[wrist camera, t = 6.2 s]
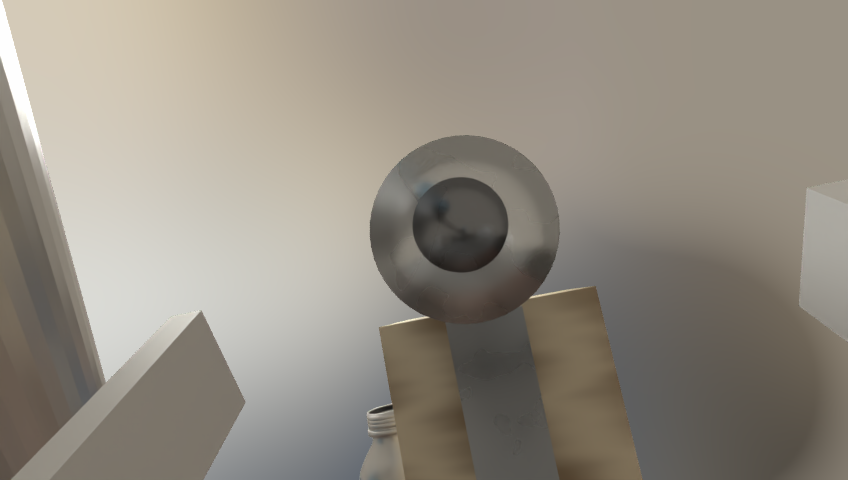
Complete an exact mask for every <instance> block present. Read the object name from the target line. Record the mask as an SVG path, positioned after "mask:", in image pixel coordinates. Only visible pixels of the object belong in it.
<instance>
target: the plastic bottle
mask: <svg viewBox="0 0 848 480" xmlns="http://www.w3.org/2000/svg"><path fill="white" fill-rule="evenodd" d="M367 419H368V427H369V429H368V435H369V437H372V438H373V443H372V445H371V447H370V450H369V452H368V454H367V456H366V458H365V461H364V463H363V466H362V469H361V472H360V480H405V475H404V470H403V464H402V458H401V452H400V447H399V441H398V435H397V429H396V423H395V418H394V412H393V406H392V404H389V405H384V406H381V407H377V408H375V409H372V410H370V411H368V412H367Z"/></svg>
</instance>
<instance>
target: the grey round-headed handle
mask: <svg viewBox="0 0 848 480" xmlns="http://www.w3.org/2000/svg"><path fill="white" fill-rule="evenodd" d="M559 235H560V229H559V216H558V209H557V206H556V202H555V199H554V196H553V193H552V191H551V189H550V187H549V185H548V183H547V181H546V180H545V178H544V177H543V175H542V174H541V173H540V171H539V170H538V169H537V168H536V166H535V165H534V164H533V163H532V162H531V161H529V160H528V159H527V158H526V157H525V156H524V155H522V154H521V153H520V152H518V151H517V150H515V149H514V148H512V147H509V146H508V145H506V144H504V143H501V142H498V141H496V140H493V139H489V138H485V137H480V136H469V135H465V136H452V137H446V138H441V139H438V140H435V141H432V142H429V143H427V144H425V145H423V146H421V147H419V148H417V149H416V150H414V151H412V152H411V153H409V154H408V155H407V156H406V157H405V158H403V159H402V160H401V161H400V162H399V163H398V164H397V165H396V166H395V167H394V168H393V169H392V170H391V172H390V173H389V174H388V176H387V177H386V178H385V180H384V182H383V183H382V185H381V187H380V189H379V191H378V194H377V196H376V199H375V201H374V205H373V209H372V213H371V220H370V240H371V248H372V252H373V255H374V260H375V262H376V265H377V267H378V270H379V272H380V274H381V275H382V277H383V279H384V281H385V282H386V284H387V285H388V286H389V288H390V289H391V290H392V291H393V292H394V293H395V295H396V296H397V297H398V298H399V299H400V300H402V301H403V302H404V303H405V304H407V305H408V306H409V307H411V308H412V309H414V310H415V311H417V312H419V313H420V314H423V315H425V316H427V317H430V318H432V319H435V320H439V321H442V322H445V324H446V329H447V334H448V339H449V344H450V349H451V354H452V359H453V364H454V369H455V374H456V379H457V384H458V389H459V394H460V399H461V404H462V409H463V414H464V419H465V425H466V430H467V435H468V440H469V445H470V450H471V455H472V460H473V465H474V470H475V475H476V480H559V475H558V470H557V466H556V461H555V457H554V452H553V447H552V443H551V438H550V433H549V429H548V424H547V419H546V415H545V410H544V405H543V401H542V396H541V391H540V387H539V382H538V378H537V373H536V368H535V364H534V359H533V354H532V350H531V345H530V340H529V336H528V331H527V326H526V322H525V317H524V312H523V308H522V304H523V303H524V302H526V301H527V300H528V299H529V298H530V297H531V296H532V295H533V294H534V293H535V292H536V291H537V290H538V288H539V287H540V286H541V284H542V283H543V282H544V280H545V278H546V277H547V275H548V273H549V271H550V270H551V267H552V265H553V262H554V260H555V257H556V252H557V249H558V242H559Z"/></svg>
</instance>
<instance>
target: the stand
mask: <svg viewBox="0 0 848 480" xmlns="http://www.w3.org/2000/svg"><path fill="white" fill-rule="evenodd" d="M522 308H523V312H524V317H525V322H526V326H527V331H528V336H529V340H530V345H531V350H532V354H533V359H534V364H535V368H536V373H537V378H538V382H539V387H540V391H541V396H542V401H543V405H544V410H545V415H546V419H547V424H548V429H549V433H550V438H551V443H552V447H553V452H554V457H555V461H556V466H557V470H558V475H559V480H643V479H642V475H641V471H640V468H639V463H638V459H637V455H636V451H635V446H634V442H633V438H632V434H631V430H630V426H629V422H628V418H627V413H626V409H625V405H624V401H623V397H622V393H621V389H620V385H619V381H618V377H617V373H616V368H615V364H614V360H613V356H612V352H611V348H610V343H609V340H608V335H607V331H606V327H605V323H604V319H603V315H602V311H601V307H600V302H599V298H598V294H597V290H596V286H592V287H585V288H576V289H568V290H563V291H558V292H552V293H547V294H541V295H537V296H531V297H530V298H529V299H528V300H527V301H526V302H524V303H523V304H522ZM379 331H380V336H381V342H382V348H383V353H384V359H385V366H386V371H387V377H388V383H389V389H390V394H391V400H392V406H393V412H394V418H395V423H396V429H397V435H398V441H399V447H400V452H401V458H402V464H403V470H404V475H405V480H476V475H475V470H474V465H473V460H472V455H471V450H470V445H469V440H468V435H467V430H466V425H465V419H464V414H463V409H462V404H461V399H460V394H459V389H458V384H457V379H456V374H455V369H454V364H453V359H452V354H451V349H450V344H449V339H448V334H447V329H446V324H445V322H442V321H439V320H435V319H432V318H430V317H427V316H426V317H421V318H416V319H410V320H406V321H402V322H398V323H394V324H390V325H386V326H382V327H379Z"/></svg>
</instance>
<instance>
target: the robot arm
mask: <svg viewBox="0 0 848 480" xmlns="http://www.w3.org/2000/svg"><path fill="white" fill-rule="evenodd" d="M803 237H804V238H803V252H802V267H801V282H800V297H799V306H800V307H801V308H802V309H804V310H805V311H806V312H808V313H809V314H810V315H812V316H813V317H814V318H816V319H817V320H819V321H820V322H821V323H823V324H824V325H825V326H827V327H828V328H829V329H831V330H832V331H833V332H835V333H836V334H837V335H839V336H840V337H841V338H843V339H844V340H846V341H847V342H848V180H843V181H838V182H833V183H828V184H823V185H818V186H813V187H808V188H807V191H806V207H805V222H804V236H803ZM244 404H245V400H244V398H243V396H242V394H241V392H240V389H239V387H238V385H237V383H236V381H235V379H234V377H233V375H232V373H231V371H230V369H229V367H228V365H227V363H226V360H225V358H224V356H223V354H222V352H221V350H220V348H219V346H218V344H217V342H216V340H215V338H214V336H213V333H212V331H211V329H210V327H209V325H208V323H207V321H206V319H205V317H204V315H203V313H202V311H201V310H200V311H195V312H190V313H185V314H180V315H175V316H172V317H170V318H169V319H168V320H167V321H166V322H165V323H164V324H163V325H162V326H161V327H160V328H159V329H158V330H157V331H156V332H155V333H154V334H153V336H152V337H151V338H150V339H149V340H148V341H147V342H146V343H145V344H144V345H143V346H142V347H141V348H140V349H139V350H138V351H137V352H136V353H135V354H134V355H133V356H132V357H131V358H130V359H129V360H128V361H127V362H126V363H125V364H124V365H123V366H122V367H121V368H120V369H119V370H118V371H117V372H116V373H115V374H114V375H113V376H112V377H111V378H110V379H109V380H108V381H107V382H105V378H104V374H103V371H102V367H101V364H100V360H99V356H98V352H97V349H96V345H95V341H94V338H93V334H92V330H91V327H90V323H89V320H88V316H87V312H86V309H85V305H84V301H83V297H82V294H81V290H80V287H79V283H78V280H77V275H76V272H75V268H74V265H73V261H72V257H71V253H70V250H69V246H68V242H67V239H66V235H65V231H64V228H63V225H62V221H61V217H60V213H59V209H58V206H57V202H56V198H55V195H54V191H53V187H52V184H51V180H50V177H49V173H48V169H47V166H46V162H45V158H44V154H43V151H42V147H41V143H40V140H39V136H38V132H37V129H36V125H35V121H34V118H33V114H32V110H31V107H30V103H29V100H28V96H27V92H26V89H25V85H24V81H23V77H22V74H21V71H20V66H19V63H18V59H17V55H16V52H15V48H14V45H13V41H12V37H11V33H10V30H9V26H8V22H7V19H6V15H5V11H4V8H3V4H2V0H0V480H203V479H204V478H205V476H206V474H207V472H208V470H209V468H210V467H211V465H212V463H213V461H214V459H215V457H216V456H217V454H218V452H219V450H220V448H221V446H222V444H223V443H224V441H225V439H226V437H227V435H228V433H229V432H230V430H231V428H232V426H233V424H234V422H235V420H236V419H237V417H238V415H239V413H240V411H241V410H242V408H243V406H244Z"/></svg>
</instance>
